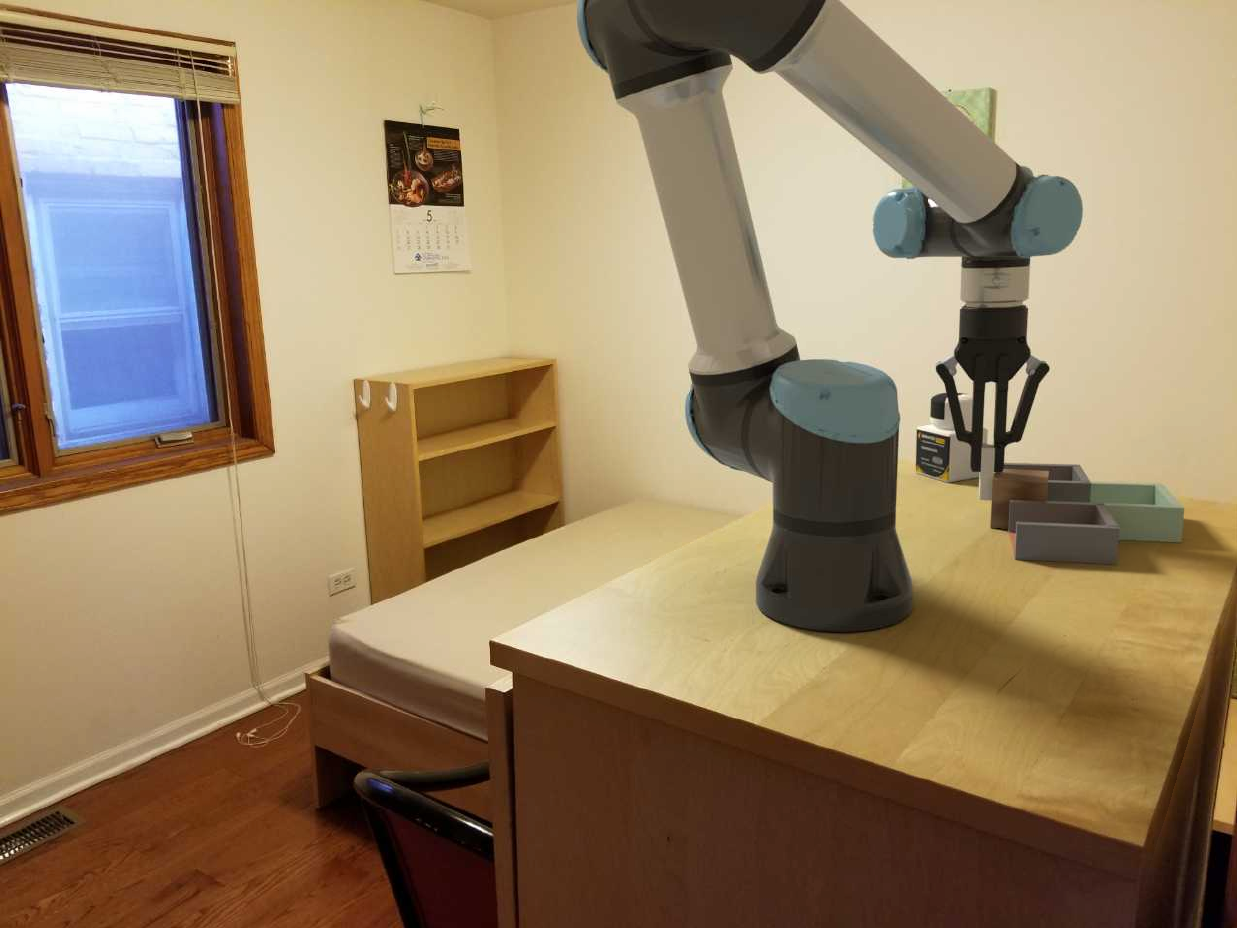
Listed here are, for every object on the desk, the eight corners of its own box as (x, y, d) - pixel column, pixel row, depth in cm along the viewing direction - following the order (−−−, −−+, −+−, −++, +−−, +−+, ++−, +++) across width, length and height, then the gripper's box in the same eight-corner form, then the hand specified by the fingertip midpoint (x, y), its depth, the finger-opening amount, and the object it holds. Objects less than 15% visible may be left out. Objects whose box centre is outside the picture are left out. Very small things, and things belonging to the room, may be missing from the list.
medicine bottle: (914, 473, 144) (916, 393, 142) (952, 467, 147) (955, 388, 144) (948, 483, 138) (950, 400, 135) (986, 476, 141) (990, 394, 138)
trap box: (1015, 559, 106) (1017, 524, 105) (997, 491, 133) (999, 462, 132) (1202, 569, 100) (1205, 532, 100) (1144, 495, 127) (1147, 466, 126)
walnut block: (990, 527, 117) (992, 479, 116) (994, 514, 122) (996, 468, 121) (1044, 532, 114) (1047, 483, 113) (1046, 518, 120) (1048, 471, 118)
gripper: (936, 307, 112) (930, 503, 118) (1058, 305, 109) (1046, 507, 114) (935, 302, 119) (929, 487, 125) (1050, 300, 116) (1039, 491, 121)
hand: (985, 497), depth 119 cm, fingers closed
